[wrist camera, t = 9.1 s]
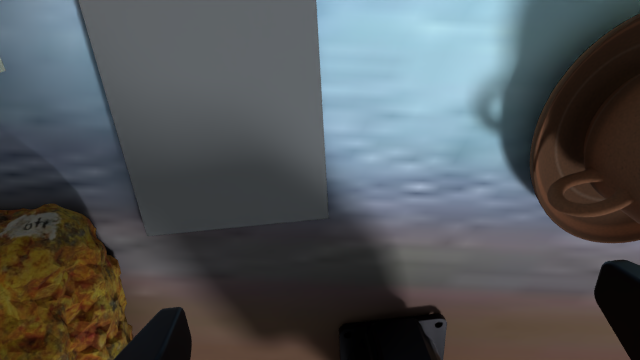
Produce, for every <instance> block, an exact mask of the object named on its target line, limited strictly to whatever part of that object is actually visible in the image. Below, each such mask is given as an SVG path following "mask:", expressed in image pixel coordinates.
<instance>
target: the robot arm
mask: <svg viewBox="0 0 640 360" xmlns="http://www.w3.org/2000/svg"><path fill="white" fill-rule="evenodd" d="M594 295H595V299H596V302H597V304H598V305H599V307H600V309H601V310H602V312H603V314H604V315H605V317H606V319H607V321H608V322H609V324H610V326H611V327H612V329H613V331H614V332H615V334H616V336H617V337H618V339H619V341H620V342H621V344H622V346H623V347H624V349H625V351H626V352H627V354H628V356H629V357H630V359H631V360H640V265H637V264H635V263H632V262H630V261H627V260H614V261H607V262H605V263H604V264H603V265H602V267H601V270H600V273H599V276H598V279H597V283H596V286H595V290H594ZM437 322H438V323H437ZM446 327H447V322H446V320H445V318H444V316H443V315H441V314H432V315H423V316H414V317H405V318H396V319H387V320H378V321H369V322H360V323H351V324H345V325H342V326H341V327H340V328H339V347H340V360H443V355H444V346H445V336H446ZM346 332H349V333H346ZM191 347H192V340H191V334H190V330H189V326H188V323H187V319H186V315H185V312H184V310H183V308H181V307H174V308H165V309H162V310H160V311H159V312H158V313H157V314H156V315H155V316H154V317H153V318H152V319H151V321H150V322H149V323H148V324H147V325H146V326H145V327H144V328H143V329H142V330H141V331H140V332H139V333H138V334H137V335H136V336H135V337H134V338H133V339H132V340H131V341H130V342H129V344H128V345H127V346H126V347H125V348H124V349H123V350H122V351H121V352H120V353H119V354H118V355H117V356H116V357H115V358H114V359H113V360H190V357H191Z"/></svg>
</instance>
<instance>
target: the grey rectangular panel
mask: <svg viewBox="0 0 640 360" xmlns="http://www.w3.org/2000/svg"><path fill="white" fill-rule="evenodd" d="M78 1H79V4H80V7H81V11H82V14H83V18H84V21H85V25H86V28H87V31H88V35H89V38H90V42H91V45H92V49H93V52H94V55H95V59H96V62H97V66H98V69H99V73H100V76H101V79H102V83H103V86H104V90H105V93H106V97H107V100H108V103H109V107H110V110H111V114H112V117H113V121H114V124H115V127H116V131H117V134H118V138H119V141H120V145H121V148H122V151H123V155H124V158H125V162H126V165H127V169H128V172H129V175H130V179H131V182H132V186H133V189H134V193H135V196H136V199H137V203H138V206H139V210H140V213H141V217H142V220H143V223H144V227H145V230H146V234H147V236H154V235H165V234H175V233H185V232H195V231H206V230H216V229H226V228H236V227H246V226H257V225H267V224H277V223H287V222H298V221H308V220H318V219H328V218H329V217H328V199H327V182H326V164H325V147H324V129H323V112H322V94H321V77H320V59H319V42H318V24H317V7H316V0H78Z"/></svg>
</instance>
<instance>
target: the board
mask: <svg viewBox="0 0 640 360" xmlns="http://www.w3.org/2000/svg"><path fill="white" fill-rule="evenodd" d="M4 71H6V70H5V68H4V65H3V63H2V60H1V58H0V73H1V72H4Z"/></svg>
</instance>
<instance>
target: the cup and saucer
mask: <svg viewBox="0 0 640 360" xmlns="http://www.w3.org/2000/svg"><path fill="white" fill-rule="evenodd" d="M530 174H531V180H532V185H533V188H534V191H535V194H536V196H537V198H538V200H539V203H540V204H541V206H542V207H543V209H544V211H545V212H546V214H547V215H548V216H549V217H550V218H551V220H552V221H553V222H554V223H556V224H557V225H558V226H559V227H560V228H562V229H563V230H565V231H566V232H568V233H570V234H572V235H574V236H576V237H579V238H582V239H585V240H589V241H593V242H600V243H625V242H632V241H638V240H640V14H638V15H636V16H634V17H632V18H630V19H628V20H627V21H625V22H623V23H622V24H620V25H618V26H617V27H615V28H614V29H612V30H611V31H609V32H608V33H607V34H605V35H604V36H603V37H601V38H600V39H599V40H598V41H596V42H595V43H594V44H593V45H592V46H590V47H589V48H588V49H587V50H586V51H585V52H584V53H583V54H582V55H581V56H580V57H579V58H578V59H577V60H576V61H575V62H574V64H573V65H572V66H571V67H570V68H569V69H568V70H567V72H566V73H565V74H564V76H563V77H562V78H561V80H560V81H559V82H558V84H557V85H556V87H555V88H554V90H553V91H552V93H551V95H550V97H549V98H548V100H547V102H546V104H545V106H544V108H543V110H542V112H541V115H540V117H539V120H538V122H537V125H536V128H535V131H534V135H533V139H532V145H531V151H530Z"/></svg>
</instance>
